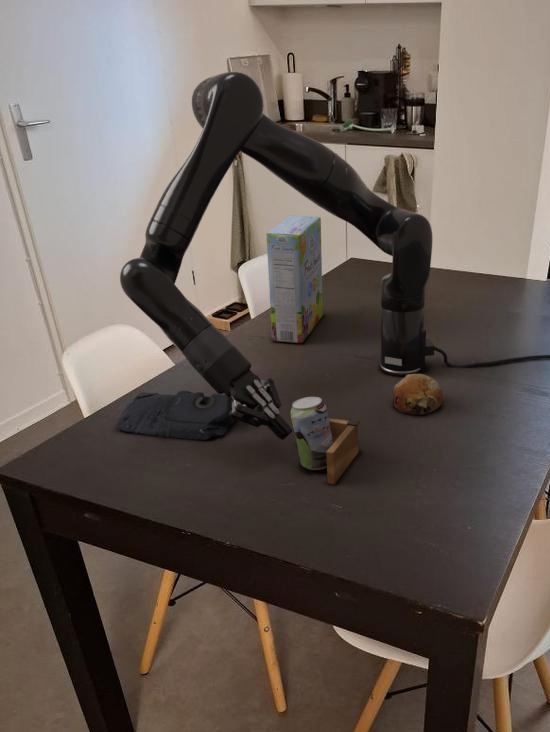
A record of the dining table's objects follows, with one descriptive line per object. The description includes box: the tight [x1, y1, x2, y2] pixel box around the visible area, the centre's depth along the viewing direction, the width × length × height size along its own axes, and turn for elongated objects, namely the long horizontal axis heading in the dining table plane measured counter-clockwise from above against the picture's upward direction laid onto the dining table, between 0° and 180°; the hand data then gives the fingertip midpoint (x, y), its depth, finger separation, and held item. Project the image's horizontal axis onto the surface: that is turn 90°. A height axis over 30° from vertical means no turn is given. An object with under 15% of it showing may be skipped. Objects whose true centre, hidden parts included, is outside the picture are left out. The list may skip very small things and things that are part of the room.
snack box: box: [265, 214, 324, 344], centre depth 170 cm, size 22×9×26 cm, turn 170°
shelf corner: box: [326, 417, 361, 485], centre depth 118 cm, size 12×12×6 cm
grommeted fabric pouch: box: [114, 390, 236, 441], centre depth 133 cm, size 15×22×5 cm
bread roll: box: [392, 373, 443, 416], centre depth 137 cm, size 10×10×8 cm
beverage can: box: [290, 396, 333, 471], centre depth 116 cm, size 6×7×12 cm
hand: (287, 435), depth 119 cm, fingers closed
